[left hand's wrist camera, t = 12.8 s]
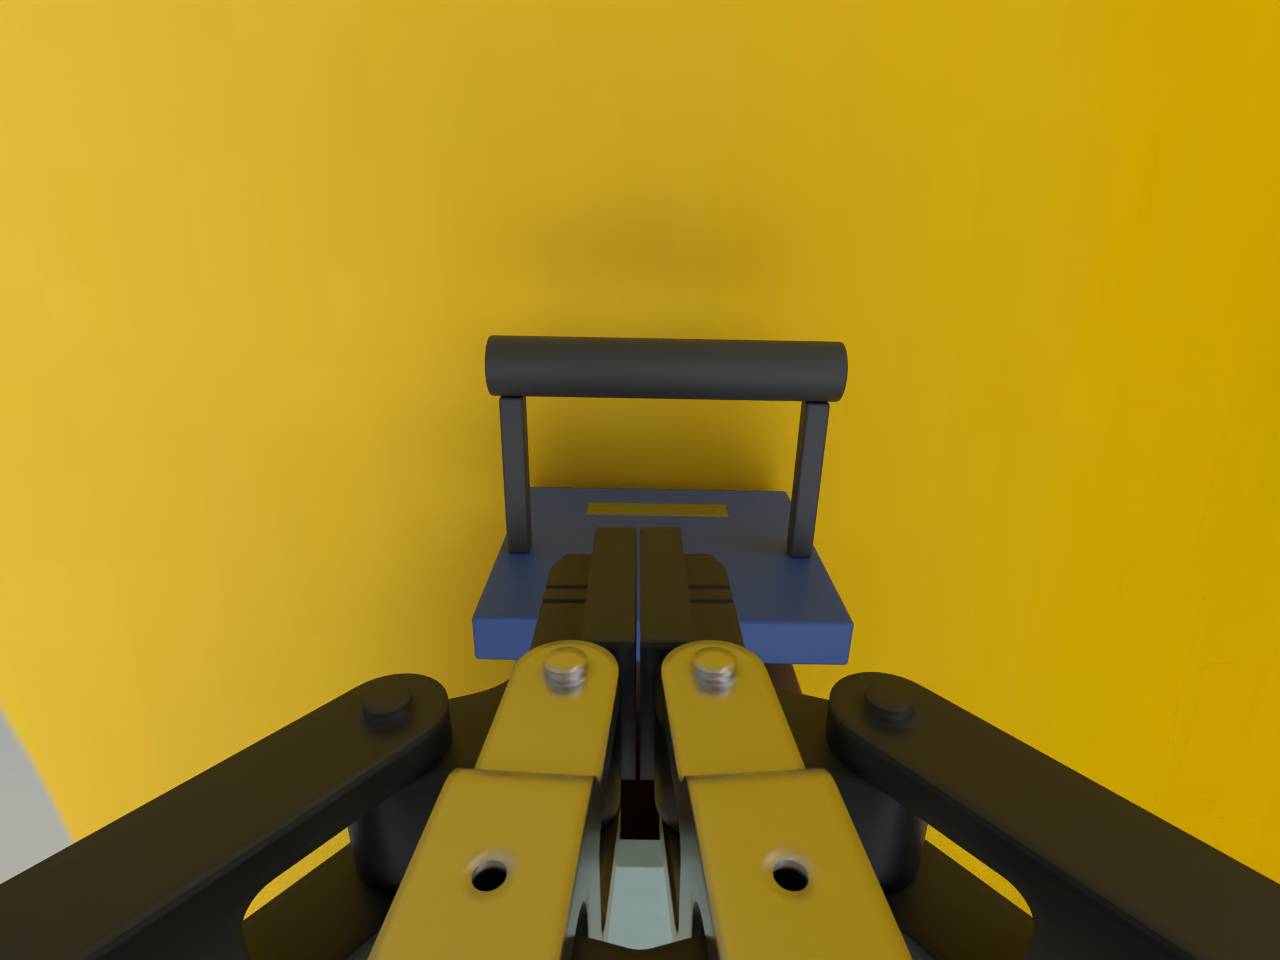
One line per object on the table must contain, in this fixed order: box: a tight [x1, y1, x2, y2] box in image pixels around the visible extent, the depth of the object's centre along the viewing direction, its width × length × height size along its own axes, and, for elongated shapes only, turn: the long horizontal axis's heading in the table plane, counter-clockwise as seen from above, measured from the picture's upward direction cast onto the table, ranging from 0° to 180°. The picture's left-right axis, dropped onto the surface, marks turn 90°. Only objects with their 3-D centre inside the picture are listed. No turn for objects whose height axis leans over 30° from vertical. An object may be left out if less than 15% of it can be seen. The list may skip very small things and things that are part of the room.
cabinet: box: [511, 660, 673, 949], centre depth 26 cm, size 18×10×10 cm, turn 179°
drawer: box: [472, 335, 854, 840], centre depth 22 cm, size 23×9×8 cm, turn 179°
